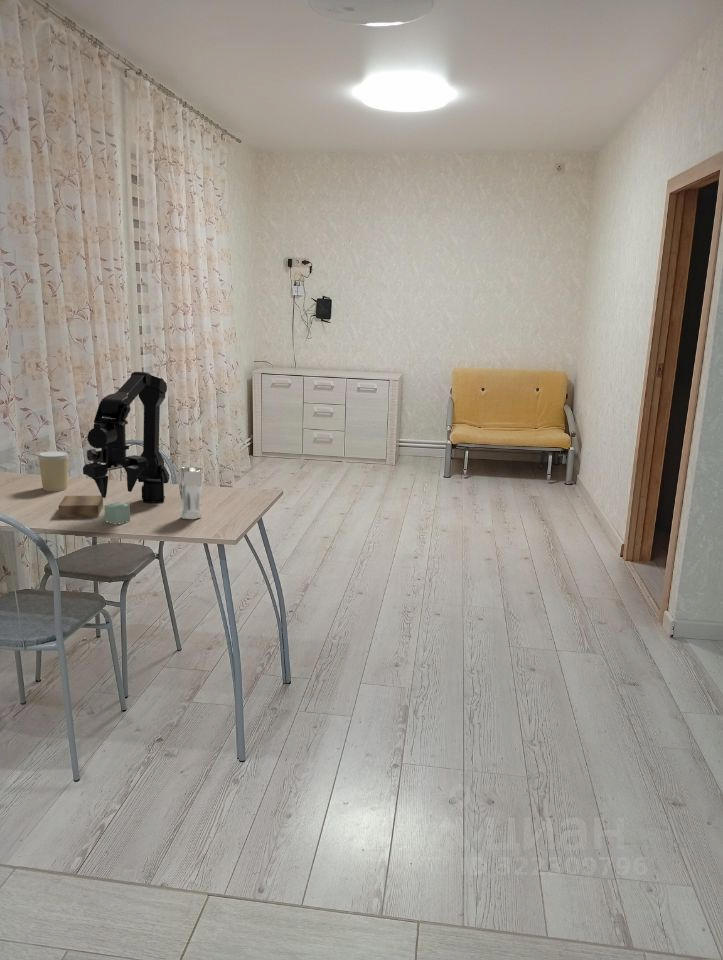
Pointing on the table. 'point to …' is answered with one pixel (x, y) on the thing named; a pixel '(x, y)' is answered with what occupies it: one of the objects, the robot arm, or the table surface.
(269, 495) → the table surface
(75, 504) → the walnut block
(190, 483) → the beer glass
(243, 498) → the table surface
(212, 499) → the table surface
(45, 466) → the coffee cup
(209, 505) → the table surface
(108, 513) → the sage block
